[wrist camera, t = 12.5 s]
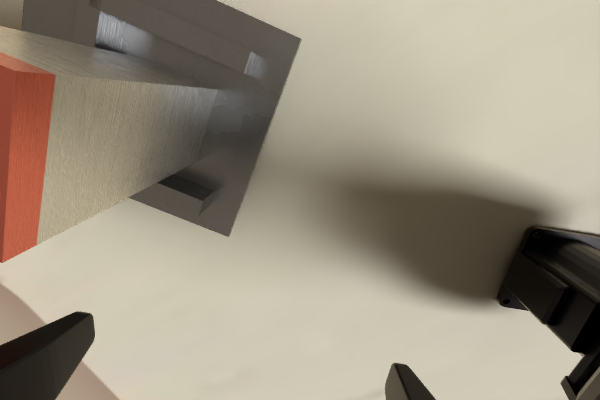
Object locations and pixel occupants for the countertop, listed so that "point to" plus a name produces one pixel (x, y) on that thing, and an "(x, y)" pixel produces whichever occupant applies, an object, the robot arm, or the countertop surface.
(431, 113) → the countertop surface
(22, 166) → the block
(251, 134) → the plate
